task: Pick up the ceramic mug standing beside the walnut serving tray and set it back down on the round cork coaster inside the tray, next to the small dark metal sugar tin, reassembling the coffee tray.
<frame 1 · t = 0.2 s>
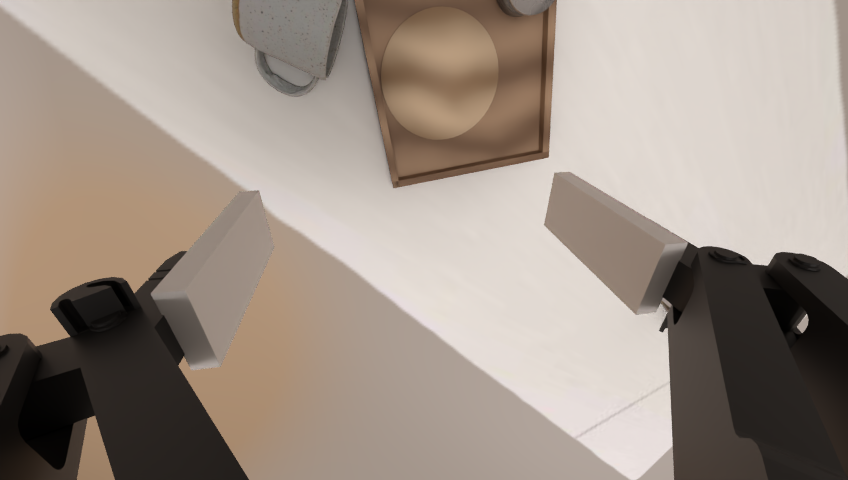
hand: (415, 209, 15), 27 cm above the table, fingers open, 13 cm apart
ceramic mug: (300, 37, 34), on the table
tray: (460, 74, 37), on the table
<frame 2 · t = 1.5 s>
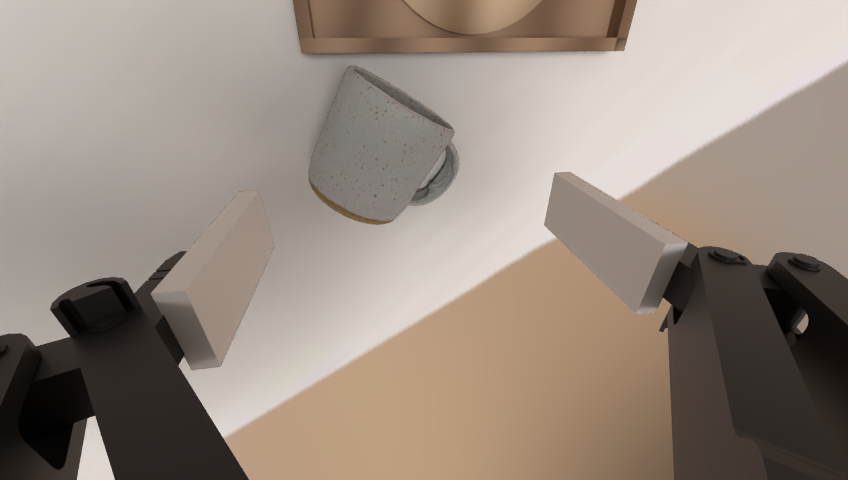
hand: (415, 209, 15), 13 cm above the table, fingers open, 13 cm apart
ceramic mug: (391, 142, 26), on the table
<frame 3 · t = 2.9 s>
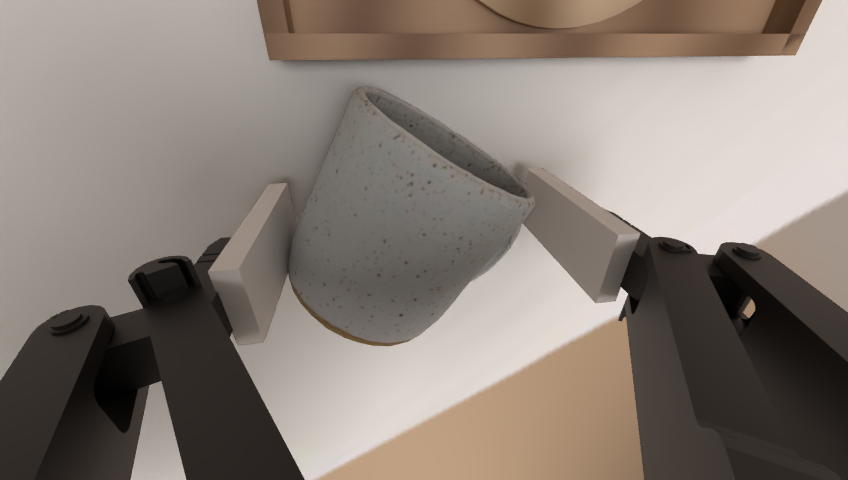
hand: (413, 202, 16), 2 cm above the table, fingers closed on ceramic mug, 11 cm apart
ceramic mug: (419, 195, 17), on the table, touching gripper
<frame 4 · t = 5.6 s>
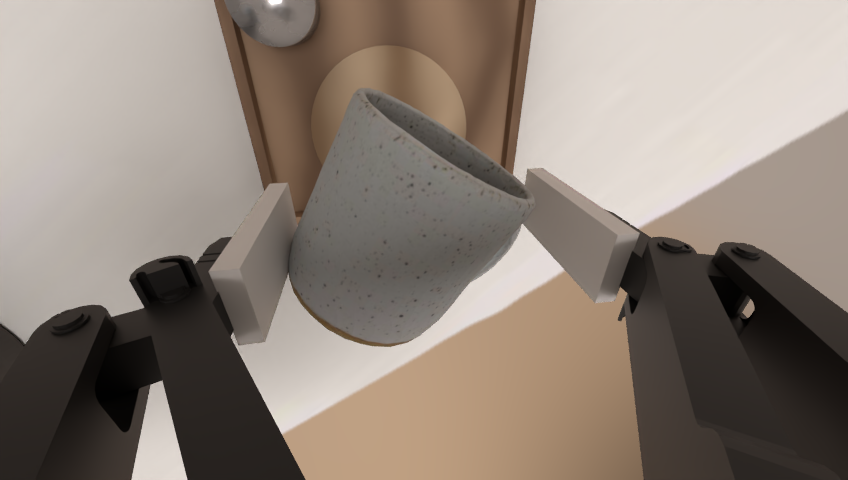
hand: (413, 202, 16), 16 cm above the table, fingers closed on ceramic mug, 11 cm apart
sugar tin: (285, 5, 24), resting on tray
ceramic mug: (419, 196, 17), point 14 cm above the table, touching gripper
tray: (388, 100, 28), on the table
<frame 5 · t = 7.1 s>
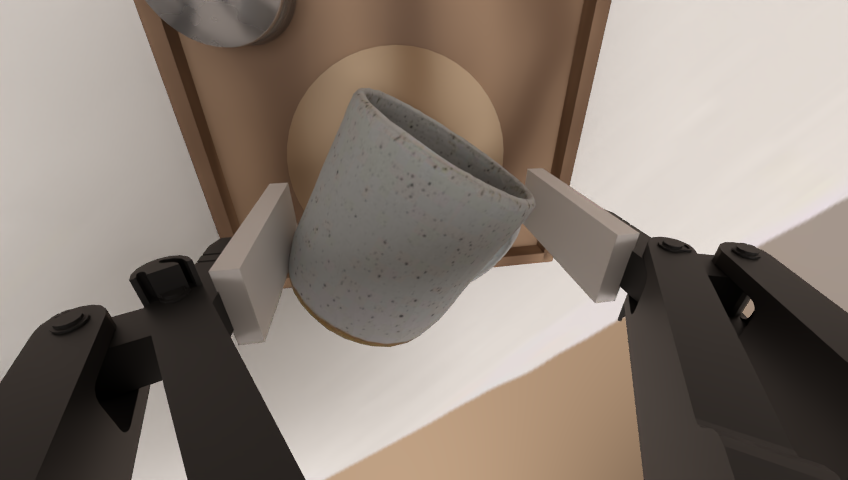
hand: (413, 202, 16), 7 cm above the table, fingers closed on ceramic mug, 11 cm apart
ceramic mug: (419, 196, 17), point 5 cm above the table, touching gripper
tray: (396, 122, 20), on the table
when the fingers open (4 cm above the table, at t = 8.3 s): ceramic mug drops 1 cm, resting on tray.
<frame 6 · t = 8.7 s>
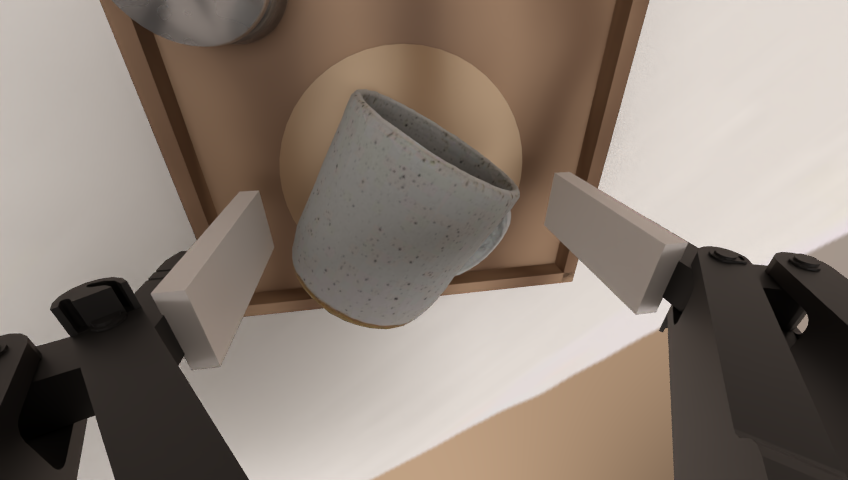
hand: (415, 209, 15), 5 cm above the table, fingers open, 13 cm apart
ceramic mug: (414, 190, 18), point 1 cm above the table, touching tray
tray: (403, 130, 18), on the table
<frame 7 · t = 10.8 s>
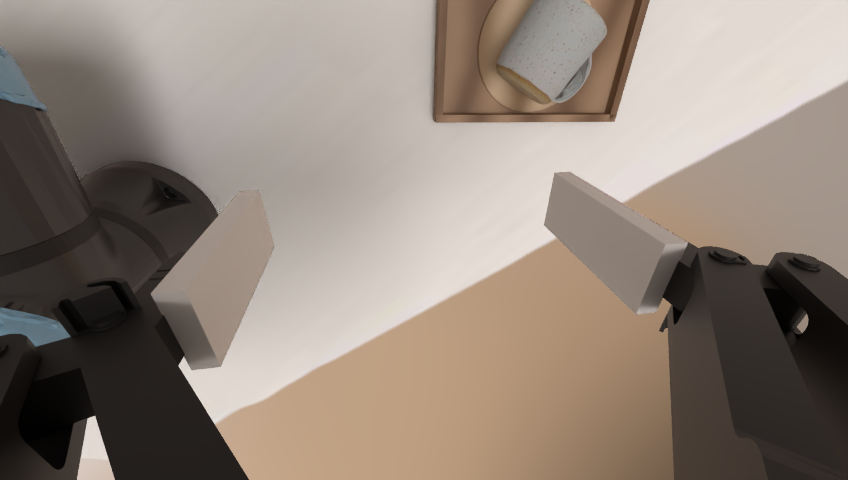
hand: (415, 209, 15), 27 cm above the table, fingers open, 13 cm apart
ceramic mug: (541, 55, 36), point 1 cm above the table, touching tray
tray: (536, 22, 36), on the table
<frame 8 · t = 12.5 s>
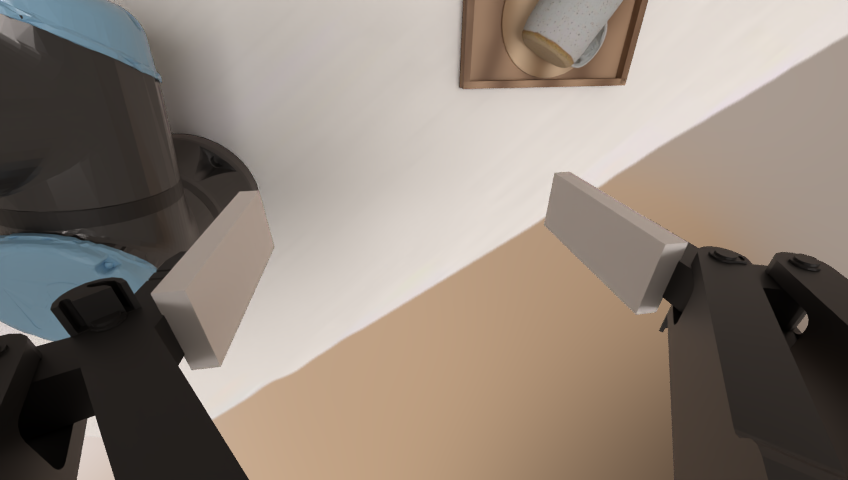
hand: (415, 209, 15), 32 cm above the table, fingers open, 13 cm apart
ceramic mug: (560, 24, 40), point 1 cm above the table, touching tray
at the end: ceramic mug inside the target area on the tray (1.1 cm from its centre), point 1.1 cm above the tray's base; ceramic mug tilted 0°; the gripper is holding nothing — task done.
